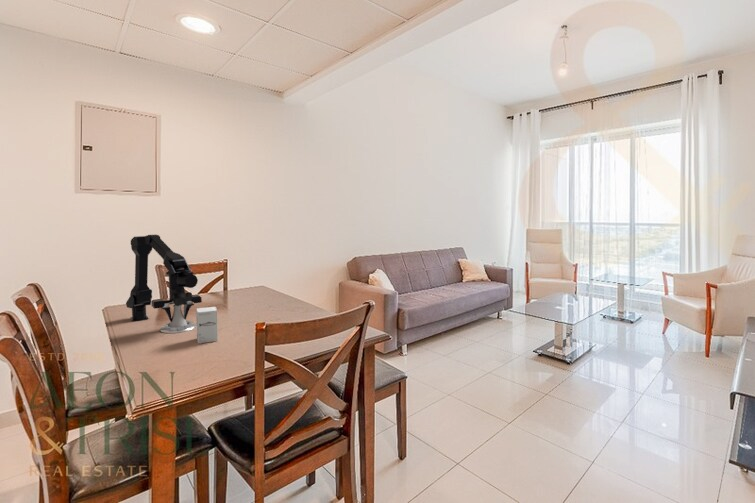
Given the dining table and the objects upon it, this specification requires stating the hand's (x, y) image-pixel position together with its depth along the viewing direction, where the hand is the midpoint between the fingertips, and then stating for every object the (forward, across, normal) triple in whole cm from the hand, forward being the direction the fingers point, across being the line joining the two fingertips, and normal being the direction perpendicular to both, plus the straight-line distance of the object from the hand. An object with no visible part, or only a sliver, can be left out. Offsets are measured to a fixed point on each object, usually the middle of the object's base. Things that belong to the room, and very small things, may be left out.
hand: (177, 320), depth 164 cm
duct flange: (+3, 0, 0) cm, 3 cm away
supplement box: (+4, +6, -24) cm, 25 cm away
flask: (+3, 0, 0) cm, 3 cm away
